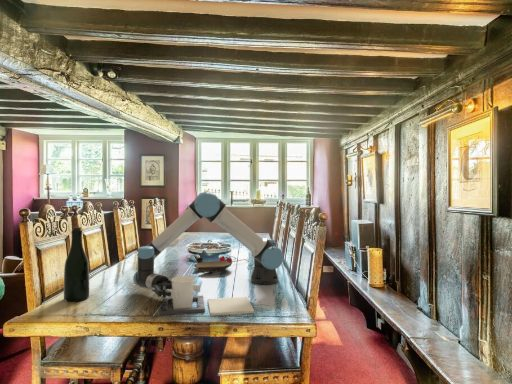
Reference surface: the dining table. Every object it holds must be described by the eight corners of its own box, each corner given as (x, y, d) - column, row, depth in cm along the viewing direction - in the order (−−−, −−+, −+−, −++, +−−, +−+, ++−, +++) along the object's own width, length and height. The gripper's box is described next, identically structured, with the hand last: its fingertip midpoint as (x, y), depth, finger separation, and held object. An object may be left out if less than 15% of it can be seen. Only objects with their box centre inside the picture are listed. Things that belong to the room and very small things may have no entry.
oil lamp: (201, 278, 197) (201, 264, 197) (187, 267, 224) (187, 255, 224) (237, 274, 207) (237, 261, 207) (220, 264, 234) (220, 252, 234)
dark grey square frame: (202, 298, 160) (202, 295, 160) (204, 312, 142) (204, 308, 142) (162, 300, 156) (162, 297, 156) (159, 315, 139) (159, 311, 139)
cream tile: (246, 299, 160) (246, 296, 160) (254, 312, 142) (254, 310, 142) (207, 301, 156) (207, 299, 156) (210, 315, 139) (210, 313, 139)
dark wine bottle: (71, 294, 164) (72, 225, 164) (93, 295, 164) (93, 225, 163) (58, 302, 153) (58, 228, 153) (81, 302, 153) (81, 228, 153)
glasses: (218, 262, 240) (218, 255, 240) (236, 259, 251) (236, 252, 251) (231, 265, 230) (231, 258, 230) (249, 262, 241) (249, 255, 241)
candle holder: (189, 311, 144) (189, 282, 143) (167, 309, 146) (167, 281, 145) (197, 303, 153) (197, 276, 153) (177, 302, 155) (177, 275, 155)
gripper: (178, 285, 170) (209, 294, 156) (134, 297, 151) (165, 308, 138) (178, 270, 170) (209, 277, 156) (134, 280, 151) (165, 289, 138)
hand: (188, 292), depth 147 cm, fingers open, 12 cm apart
